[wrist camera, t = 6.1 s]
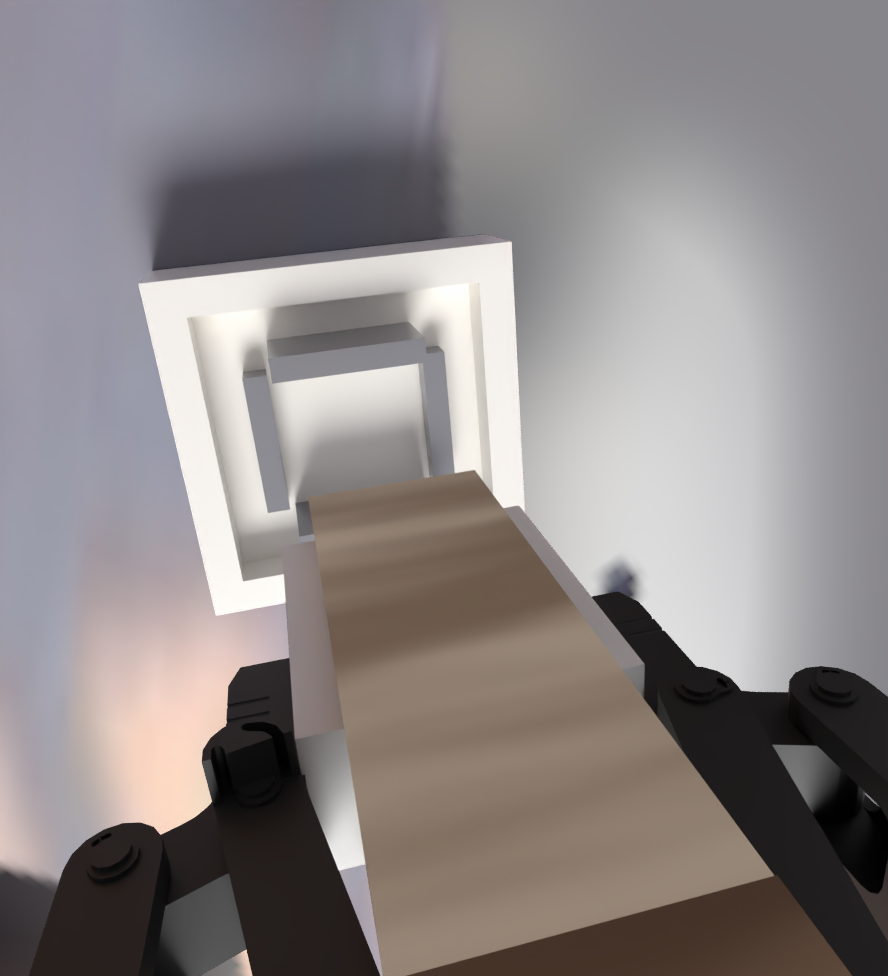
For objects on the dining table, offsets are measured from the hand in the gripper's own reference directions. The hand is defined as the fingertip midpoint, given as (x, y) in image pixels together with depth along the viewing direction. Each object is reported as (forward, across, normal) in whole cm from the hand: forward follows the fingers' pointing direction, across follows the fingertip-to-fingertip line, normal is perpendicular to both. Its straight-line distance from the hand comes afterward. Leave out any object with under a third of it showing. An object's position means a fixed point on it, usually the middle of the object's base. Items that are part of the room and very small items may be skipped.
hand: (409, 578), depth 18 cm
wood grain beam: (+1, 0, 0) cm, 1 cm away
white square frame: (+14, 0, 0) cm, 14 cm away
